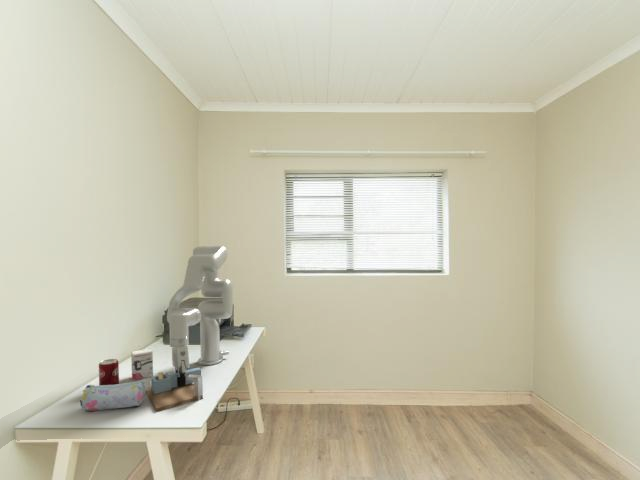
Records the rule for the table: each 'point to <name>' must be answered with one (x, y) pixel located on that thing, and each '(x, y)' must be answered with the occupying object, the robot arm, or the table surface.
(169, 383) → the link
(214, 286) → the robot arm
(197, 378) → the plate
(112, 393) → the pencil case
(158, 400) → the board
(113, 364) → the soda can
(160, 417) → the table surface
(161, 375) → the peg
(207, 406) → the table surface
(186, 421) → the table surface
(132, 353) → the ink box
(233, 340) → the table surface
